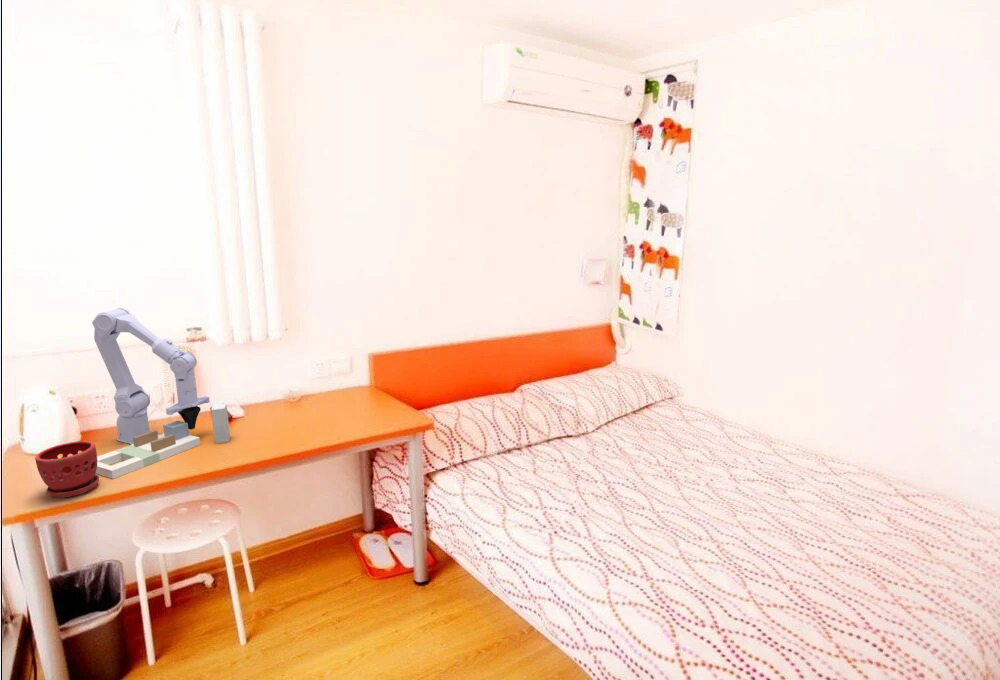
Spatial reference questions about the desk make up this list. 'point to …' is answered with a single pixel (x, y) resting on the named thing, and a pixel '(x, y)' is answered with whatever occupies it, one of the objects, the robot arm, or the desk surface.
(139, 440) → the deck
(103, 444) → the desk surface
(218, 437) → the skincare box
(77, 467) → the plant pot
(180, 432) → the block
